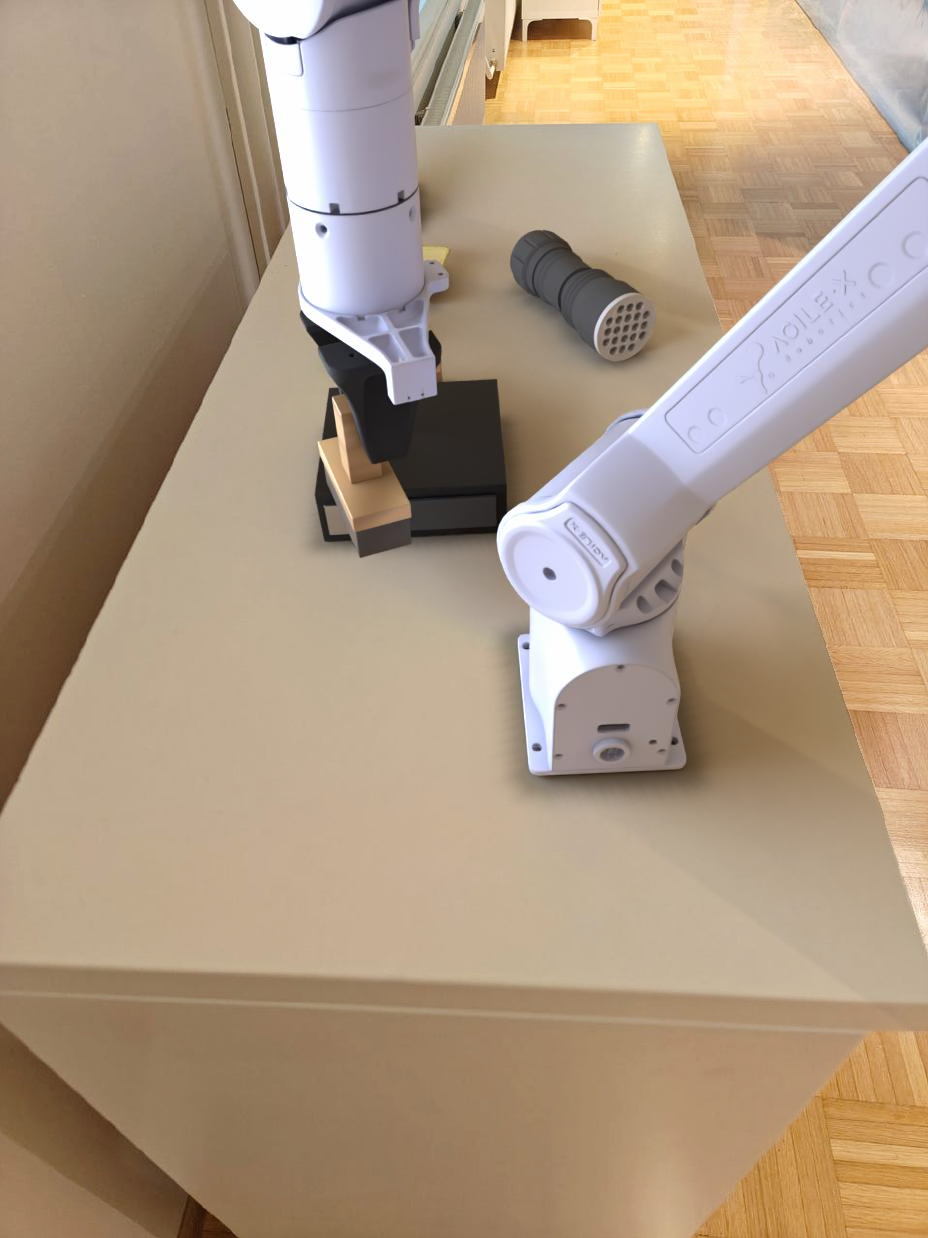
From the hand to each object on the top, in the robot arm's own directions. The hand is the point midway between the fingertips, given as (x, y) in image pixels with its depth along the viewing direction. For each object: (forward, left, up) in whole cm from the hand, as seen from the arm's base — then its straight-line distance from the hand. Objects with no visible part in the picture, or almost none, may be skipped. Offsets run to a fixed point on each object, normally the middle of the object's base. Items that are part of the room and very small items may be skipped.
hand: (381, 444), depth 49 cm
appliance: (+10, -1, -10) cm, 15 cm away
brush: (0, +1, -5) cm, 5 cm away
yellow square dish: (+39, +1, -11) cm, 40 cm away
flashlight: (+31, -14, -11) cm, 36 cm away
